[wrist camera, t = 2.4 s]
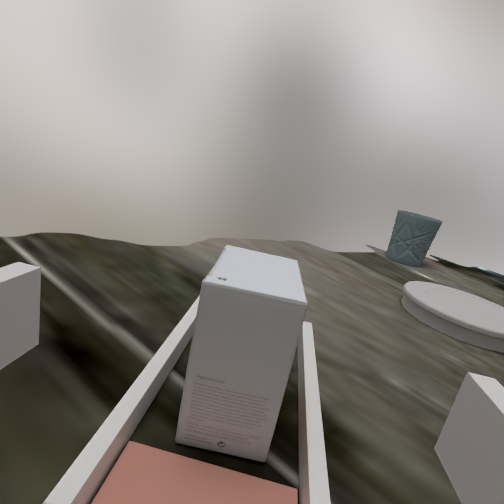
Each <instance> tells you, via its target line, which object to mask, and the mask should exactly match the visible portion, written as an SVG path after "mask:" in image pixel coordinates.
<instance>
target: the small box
mask: <svg viewBox="0 0 504 504" xmlns="http://www.w3.org/2000/svg"><path fill="white" fill-rule="evenodd" d="M307 307H308V302H307V298H306V294H305V290H304V286H303V282H302V277H301V273H300V269H299V265H298V261H296V260H292V259H288V258H284V257H280V256H275V255H270V254H266V253H261V252H257V251H252V250H248V249H243V248H239V247H234V246H229V245H226V246H225V247H224V250H223V252H222V254H221V255H220V257H219V259H218V260H217V262H216V264H215V265H214V267H213V268H212V270H211V271H210V273H209V274H208V275H207V276H206V278H205V279H204V280H203V281H202V286H201V292H200V298H199V304H198V309H197V315H196V321H195V327H194V332H193V338H192V343H191V348H190V354H189V360H188V365H187V371H186V377H185V383H184V389H183V395H182V401H181V407H180V413H179V419H178V425H177V431H176V438H175V442H176V443H179V444H184V445H188V446H193V447H197V448H202V449H206V450H210V451H215V452H220V453H224V454H229V455H233V456H237V457H242V458H246V459H251V460H256V461H260V462H265V461H266V459H267V455H268V451H269V447H270V444H271V440H272V437H273V433H274V429H275V425H276V422H277V418H278V415H279V411H280V407H281V403H282V399H283V396H284V392H285V388H286V385H287V381H288V377H289V373H290V370H291V366H292V362H293V359H294V355H295V351H296V347H297V343H298V340H299V336H300V332H301V329H302V325H303V321H304V318H305V314H306V311H307Z"/></svg>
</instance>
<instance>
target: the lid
mask: <svg viewBox="0 0 504 504" xmlns="http://www.w3.org/2000/svg"><path fill="white" fill-rule="evenodd" d="M403 291H404V295H403V297H402V300H401V301H402V306H403V307H404V308H405V309H406V310H407V311H408V312H409V313H410V314H411V315H413V316H414V317H415V318H417V319H418V320H420V321H421V322H423V323H425V324H426V325H428V326H430V327H432V328H434V329H436V330H437V331H439V332H441V333H444V334H446V335H448V336H451V337H453V338H455V339H458V340H460V341H463V342H466V343H469V344H472V345H475V346H478V347H481V348H484V349H489V350H493V351H498V352H503V353H504V308H503V307H501V306H499V305H497V304H495V303H492V302H490V301H488V300H485V299H483V298H480V297H478V296H475V295H472V294H469V293H466V292H464V291H461V290H457V289H454V288H450V287H447V286H443V285H438V284H434V283H429V282H421V281H412V282H408V283H406V284H405V285H404V286H403Z"/></svg>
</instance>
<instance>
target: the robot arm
mask: <svg viewBox="0 0 504 504" xmlns="http://www.w3.org/2000/svg"><path fill="white" fill-rule="evenodd" d="M40 280H41V267H37V266H33V265H29V264H25V263H21V262H17V263H14V264H11V265H8V266H5V267H1V268H0V370H1V369H2V368H3V367H5V366H6V365H8V364H9V363H11V362H12V361H14V360H15V359H17V358H18V357H20V356H21V355H23V354H24V353H26V352H27V351H29V350H30V349H32V348H33V347H35V346H36V345H38V344H39V315H40ZM434 449H435V451H436V453H437V455H438V457H439V459H440V461H441V463H442V465H443V467H444V469H445V471H446V473H447V475H448V477H449V479H450V481H451V483H452V485H453V487H454V489H455V491H456V493H457V495H458V497H459V499H460V501H461V503H462V504H504V387H503V386H502V385H501V384H500V383H499V382H498V381H497V380H496V379H494V378H490V377H486V376H482V375H478V374H474V373H470V372H467V374H466V376H465V379H464V381H463V383H462V386H461V388H460V390H459V392H458V395H457V397H456V399H455V402H454V404H453V406H452V408H451V411H450V413H449V415H448V418H447V420H446V422H445V425H444V427H443V429H442V431H441V434H440V436H439V438H438V441H437V443H436V445H435V447H434Z"/></svg>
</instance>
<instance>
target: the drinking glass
mask: <svg viewBox="0 0 504 504" xmlns="http://www.w3.org/2000/svg"><path fill="white" fill-rule="evenodd" d="M441 224H442V221H440V220H437V219H433V218H430V217H426V216H423V215H419V214H415V213H411V212H406V211H401V210H398V213H397V217H396V220H395V224H394V228H393V232H392V236H391V239H390V243H389V246H388V250H387V252H386V257H387V258H389V259H391V260H393V261H395V262H398V263H401V264H404V265H408V266H414V267H420V266H421V264H422V262H423V260H424V258H425V256H426V254H427V251H428V250H429V247H430V246H431V243H432V241H433V239H434V238H435V235H436V234H437V231H438V230H439V228H440V226H441Z"/></svg>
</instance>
